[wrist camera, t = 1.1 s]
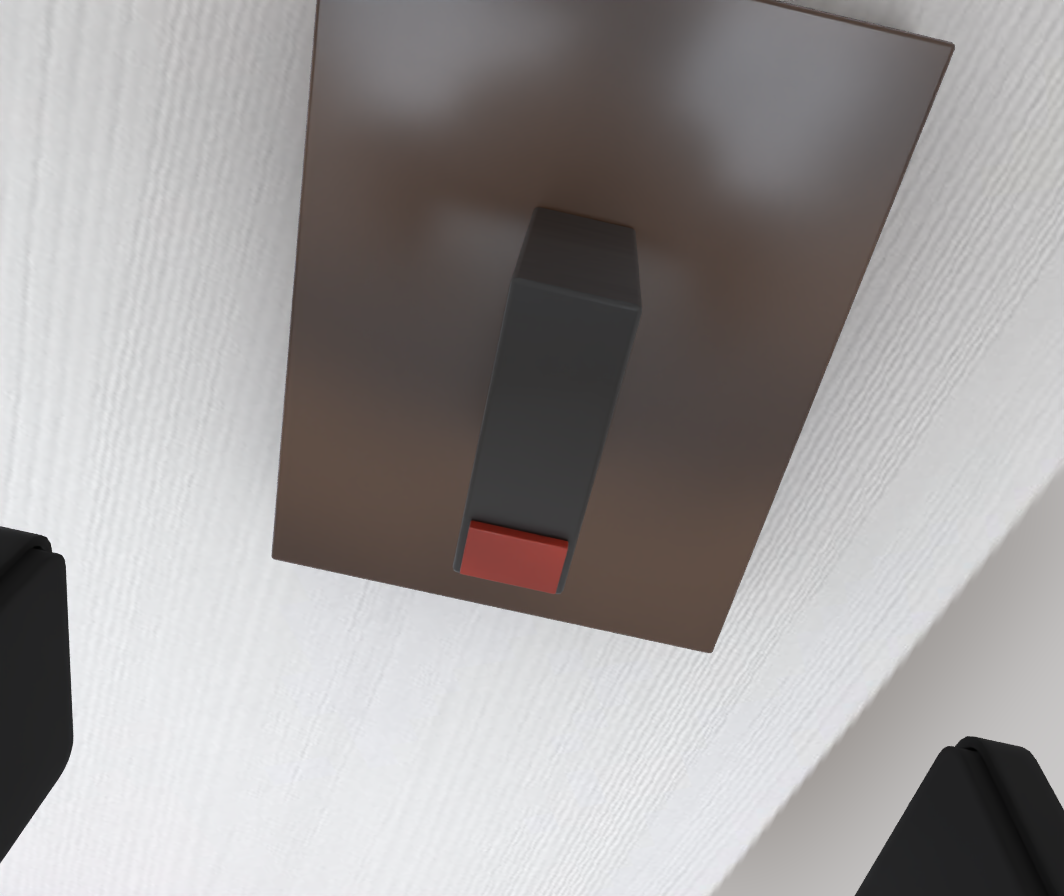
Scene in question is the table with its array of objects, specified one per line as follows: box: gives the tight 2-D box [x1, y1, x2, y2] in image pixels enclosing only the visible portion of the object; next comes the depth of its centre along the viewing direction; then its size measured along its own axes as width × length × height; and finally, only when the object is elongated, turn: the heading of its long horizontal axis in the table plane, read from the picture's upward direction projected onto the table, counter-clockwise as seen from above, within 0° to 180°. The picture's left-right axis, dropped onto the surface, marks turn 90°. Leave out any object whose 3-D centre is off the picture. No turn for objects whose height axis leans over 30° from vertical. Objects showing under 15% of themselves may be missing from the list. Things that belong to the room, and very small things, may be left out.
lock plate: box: [272, 0, 955, 653], centre depth 20 cm, size 14×11×2 cm
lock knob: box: [453, 207, 642, 594], centre depth 16 cm, size 6×2×5 cm, turn 168°
